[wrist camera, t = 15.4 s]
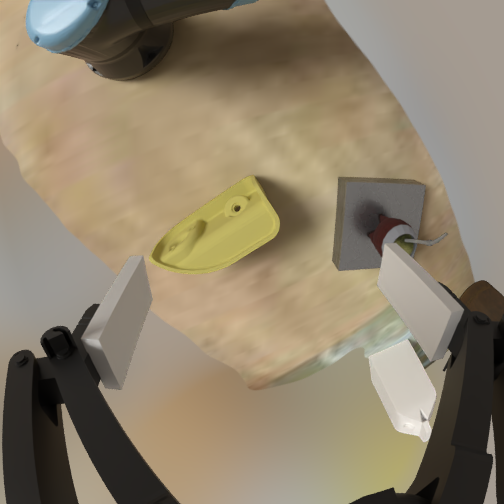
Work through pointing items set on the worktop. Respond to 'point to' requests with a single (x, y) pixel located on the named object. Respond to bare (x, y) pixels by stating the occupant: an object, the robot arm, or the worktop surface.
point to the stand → (371, 216)
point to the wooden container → (484, 300)
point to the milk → (404, 389)
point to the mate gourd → (397, 235)
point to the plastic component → (219, 231)
